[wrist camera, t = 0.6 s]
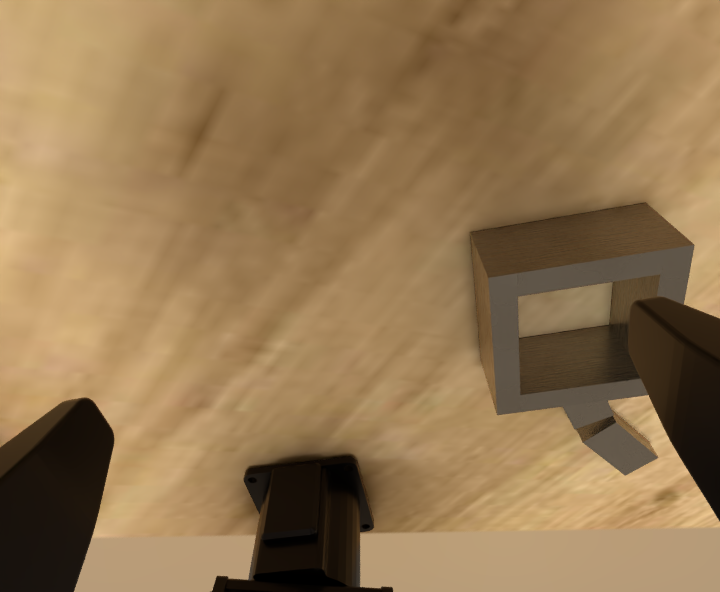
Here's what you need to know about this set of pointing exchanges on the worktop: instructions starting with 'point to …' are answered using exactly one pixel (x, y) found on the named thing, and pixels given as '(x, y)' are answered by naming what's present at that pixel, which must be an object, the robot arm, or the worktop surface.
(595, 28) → the worktop surface
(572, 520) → the worktop surface
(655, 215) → the hollow square frame
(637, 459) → the wood sided gray block
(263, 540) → the robot arm
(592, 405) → the grey topped wooden tile
